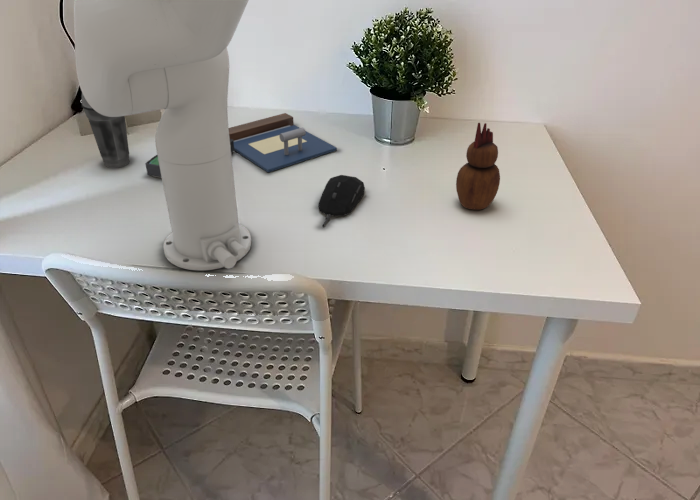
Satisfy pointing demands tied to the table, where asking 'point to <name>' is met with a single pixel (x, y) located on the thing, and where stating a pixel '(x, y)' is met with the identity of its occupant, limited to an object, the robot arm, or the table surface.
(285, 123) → the bar
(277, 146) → the sign
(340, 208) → the gaming mouse
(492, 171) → the wooden figurine
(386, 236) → the table surface
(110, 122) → the beverage cup
